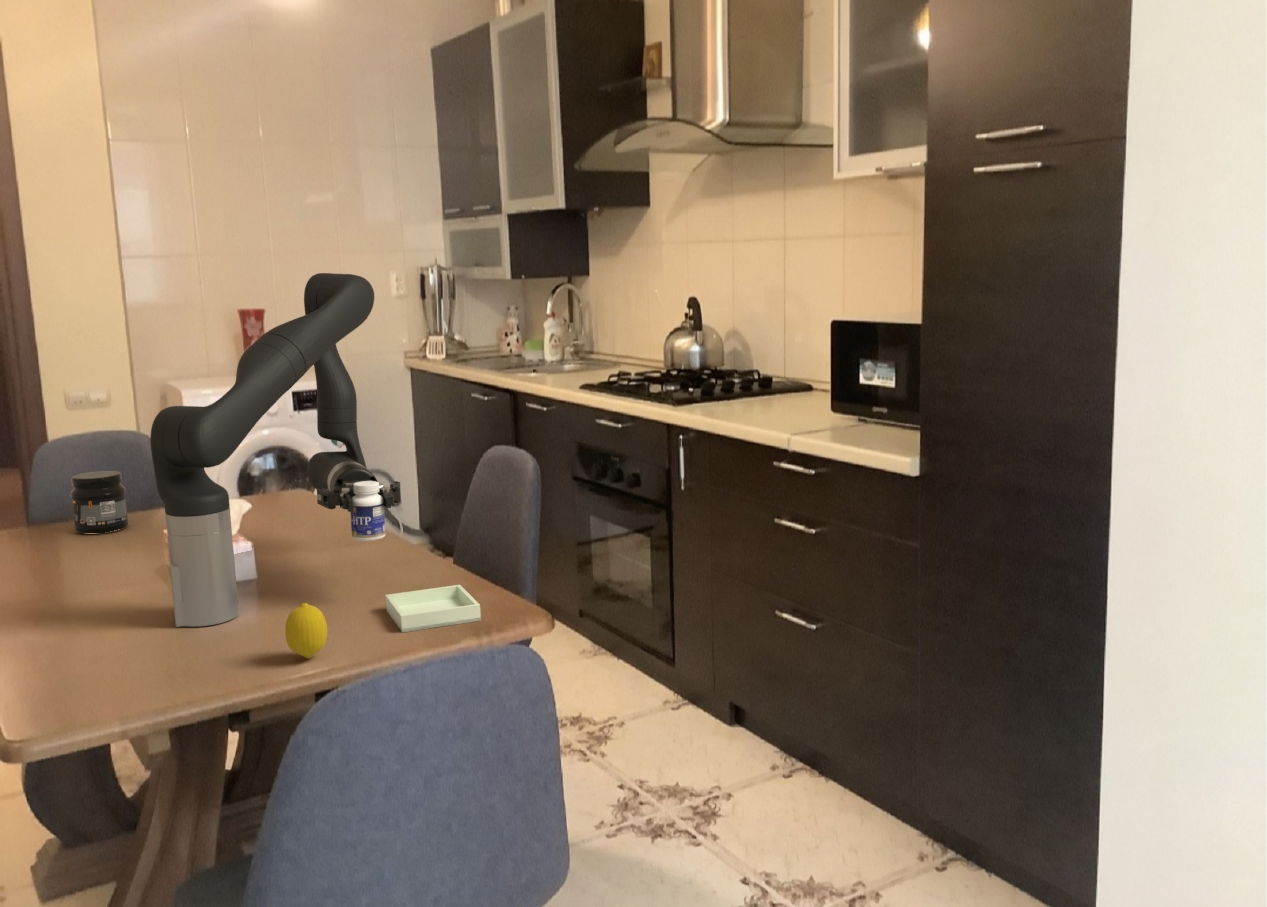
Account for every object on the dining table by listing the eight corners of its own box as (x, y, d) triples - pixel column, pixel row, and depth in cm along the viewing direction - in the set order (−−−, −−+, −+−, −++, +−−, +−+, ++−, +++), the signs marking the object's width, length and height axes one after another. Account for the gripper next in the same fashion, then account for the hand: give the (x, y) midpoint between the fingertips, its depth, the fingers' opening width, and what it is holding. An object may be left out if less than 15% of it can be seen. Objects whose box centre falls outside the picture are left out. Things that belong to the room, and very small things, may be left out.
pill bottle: (344, 540, 169) (341, 485, 167) (365, 532, 174) (362, 479, 172) (372, 542, 167) (369, 487, 165) (392, 535, 172) (389, 481, 170)
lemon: (317, 667, 144) (312, 610, 143) (279, 665, 145) (275, 608, 144) (336, 652, 149) (332, 598, 148) (300, 650, 150) (296, 596, 149)
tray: (402, 632, 157) (401, 616, 157) (386, 610, 168) (385, 594, 168) (480, 620, 162) (480, 604, 162) (460, 599, 173) (459, 584, 172)
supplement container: (95, 523, 233) (89, 470, 231) (139, 524, 232) (134, 470, 230) (63, 535, 223) (57, 479, 221) (109, 536, 221) (103, 479, 219)
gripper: (307, 467, 179) (321, 484, 163) (393, 460, 184) (414, 476, 169) (310, 510, 180) (324, 531, 165) (395, 502, 186) (416, 522, 170)
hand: (370, 503), depth 167 cm, fingers closed on pill bottle, 5 cm apart
